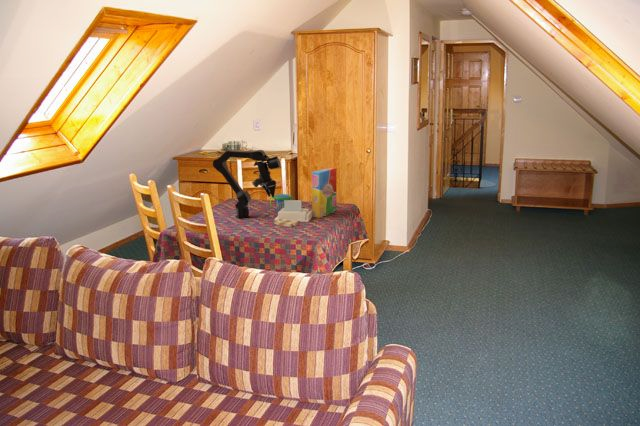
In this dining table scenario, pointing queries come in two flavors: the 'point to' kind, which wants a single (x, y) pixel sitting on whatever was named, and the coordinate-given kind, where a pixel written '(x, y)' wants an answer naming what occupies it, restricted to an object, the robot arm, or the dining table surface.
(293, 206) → the pale grey tapered slat
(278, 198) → the snack cup
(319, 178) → the game box
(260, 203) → the dining table surface
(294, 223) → the stand
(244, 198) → the robot arm
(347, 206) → the dining table surface
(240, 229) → the dining table surface
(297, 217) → the rack
